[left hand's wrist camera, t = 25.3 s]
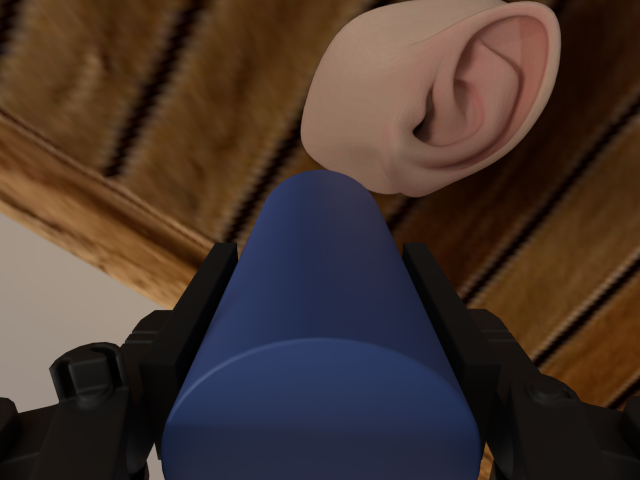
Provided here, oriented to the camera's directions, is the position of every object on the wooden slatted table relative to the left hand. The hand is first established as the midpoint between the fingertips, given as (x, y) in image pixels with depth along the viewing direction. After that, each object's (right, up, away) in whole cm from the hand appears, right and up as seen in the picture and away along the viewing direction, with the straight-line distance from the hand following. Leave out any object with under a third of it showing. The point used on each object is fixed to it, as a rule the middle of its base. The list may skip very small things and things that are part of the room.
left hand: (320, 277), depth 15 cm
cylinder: (0, +2, +5) cm, 5 cm away
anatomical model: (+6, +10, +10) cm, 15 cm away
